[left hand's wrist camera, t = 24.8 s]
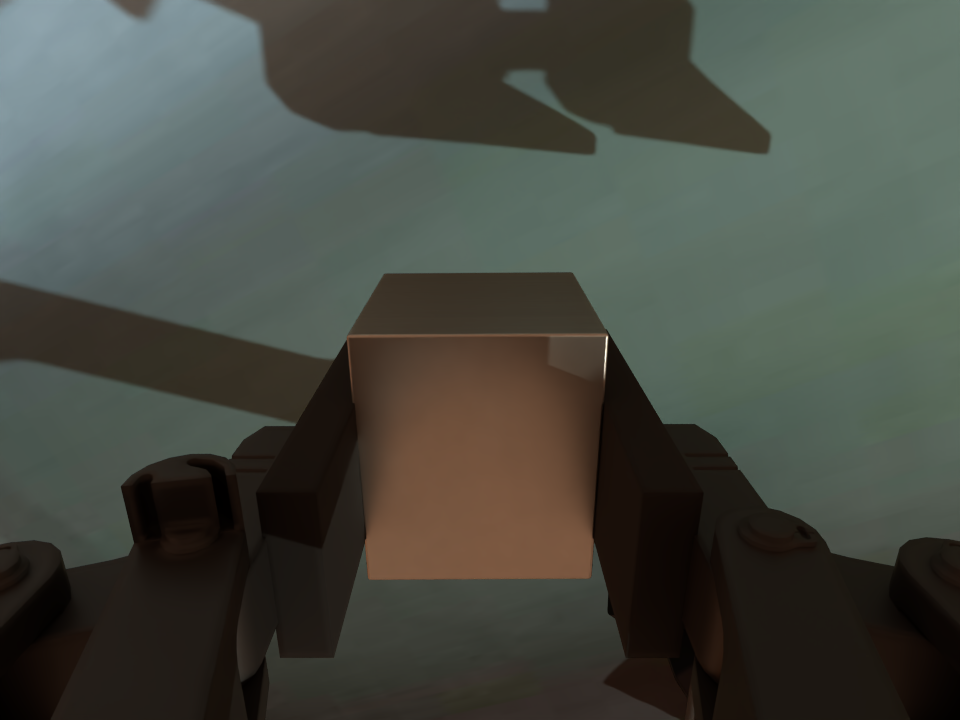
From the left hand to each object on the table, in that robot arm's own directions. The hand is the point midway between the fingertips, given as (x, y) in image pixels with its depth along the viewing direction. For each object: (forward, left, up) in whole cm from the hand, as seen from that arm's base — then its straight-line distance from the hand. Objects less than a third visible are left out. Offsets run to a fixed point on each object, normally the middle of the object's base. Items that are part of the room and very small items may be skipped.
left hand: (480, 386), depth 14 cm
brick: (0, 0, 0) cm, 0 cm away
